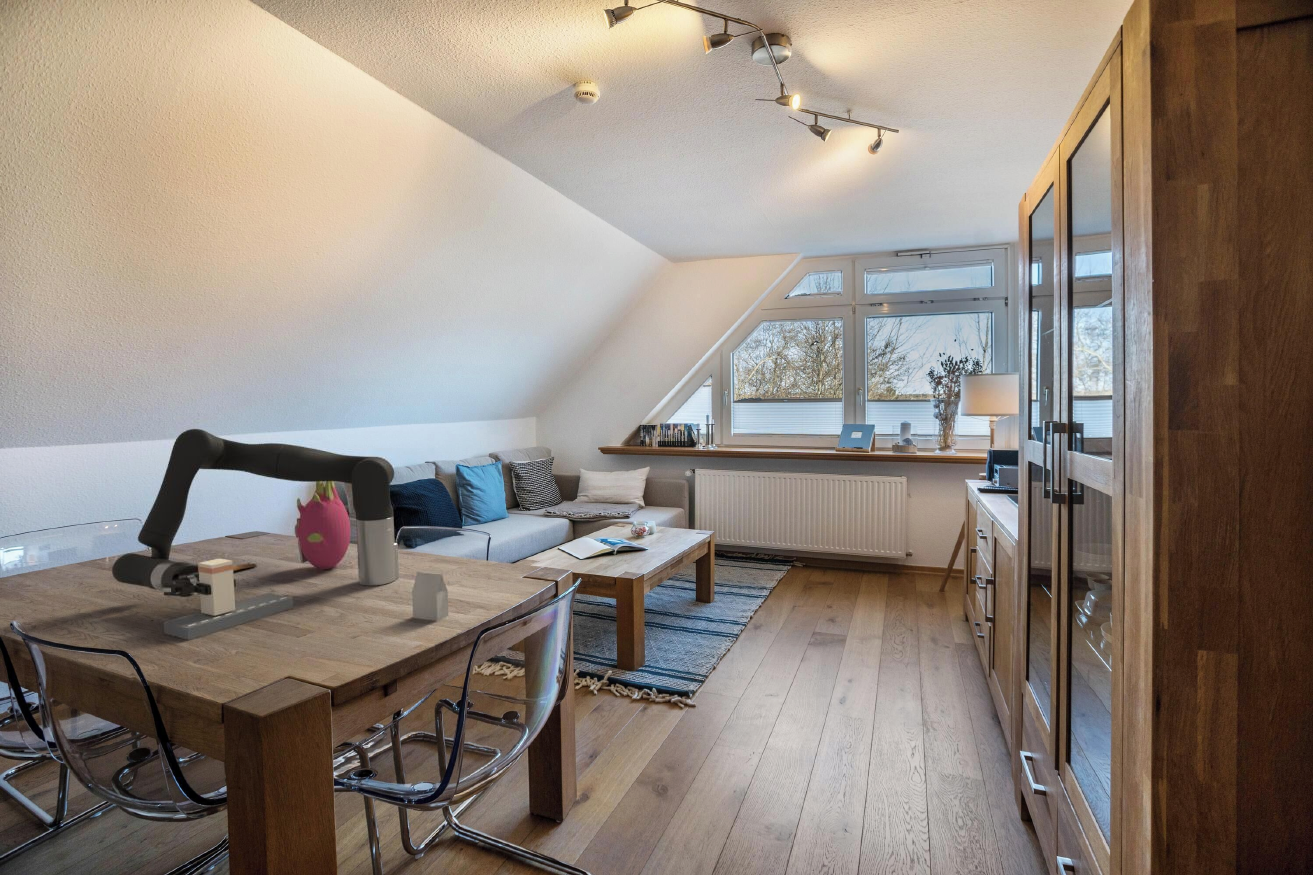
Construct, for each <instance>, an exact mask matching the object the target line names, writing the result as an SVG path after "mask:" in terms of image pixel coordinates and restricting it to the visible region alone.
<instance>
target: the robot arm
mask: <svg viewBox="0 0 1313 875" xmlns="http://www.w3.org/2000/svg"><path fill="white" fill-rule="evenodd" d="M199 470H221V471H222V470H223V471H237V472H238V471H239V472H244V473H249V474H253V475H257V476H260V477H261V476H262V477H264V478H271V479H278V480H284V481H291V482H301V483H302V482H304V483H305V482H306V483H307V482H308V483H311V482H312V483H316V482H323V481H324V482H326V481H334V482H339V483H345V484H351V493H352V495H351V496H352V506H353V510H354V512H355V526H356V548H357V571H358V574H357V575H358V584H359V585H361V586H379V585H381V586H382V585H385V584H389V583H393V582H394V581H396V580H397V579H400V572H399V570H400V569H399V546H398V543H397V542H395V526H394V525H395V524H394V507H393V506H392V502H391V493H390V492H391V491H390V490H391V488H390V484H391V483H392V482H393V480H394V477H395V469H394V467H393V465H392V464H391V463H390V462H389V461H388V460H387V459H386V458H383V457H379V456H359V455H347V454H346V455H345V454H339V453H334V452H332V451H326V450H322V449H317V448H312V447H306V446H301V445H295V444H294V445H293V444H287V443H278V442H277V443H276V442H275V443H274V442H269V443H268V442H267V443H244V442H238V441H234V440H229V439H225V438H221V437H219V436H216V435H214V434H211V433H209V432H208V431H206V430H203V429H199V428H190V429H187V430H185V431H182V432H181V433H180V434H179V435H178V436H177V438H176V439H175V440H174V443H173V446H172V449H171V454H170V457H169V460H168V464H167V467H166V470H165V473H164V477H163V479H162V481H161V482H162V483H161V485H160V488H159V490H158V494H157V495H156V498H155V500H154V502H153V504H152V506H151V509H150V511H149V513H148V515H147V517H146V519H145V521H144V524H143V525H142V527H141V529H140V531H139V534H138V535H137V536H138V537H137V541H138V543H140V544H142V545H144V546H147V547H149V548H150V550H151V555H150V556H147V555H143V554H139V553H138V554H137V553H134V552H131V553H130V552H129V553H125V554H124V555H121V556H120V557H119V558H117V559H116V560H115V562H113V565H112V567H111V573H112V577H113V578H114V579H115V581H116V582H119V583H122V584H125V585H126V584H127V585H133V586H139V587H146V588H149V589H152V590H156V591H159V592H162V593H163V596H170V597H181V598H188V597H191V596H194V595H196V596H197V595H200V594H203V595H211V585H209V584H205V583H199V572H198V564H197V563H192V562H187V561H186V562H185V561H182V560H170V555H171V549H172V545H173V541H174V540H175V537H176V535H177V533H178V531H179V529H180V526H181V524H182V522H183V520H184V518H185V514H186V511H187V510H186V508H187V503H188V498H189V492H190V489H191V486H192V483H193V480H195V477H196V475H197V473H198V472H199ZM236 586H237V583H236V579H235V578H234V589H235V588H236Z"/></svg>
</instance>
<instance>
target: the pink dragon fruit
mask: <svg viewBox="0 0 1313 875" xmlns="http://www.w3.org/2000/svg"><path fill="white" fill-rule="evenodd" d="M334 482H335V481H323V482H315V491H314V492H313V496H312V497H311V499H310V500H309V501H307V503H306V504H305V505H303V504H302V501H301V499H300V498H297V499H296V508H297V510H298V512H299V518H298V517H296V523H295V525H294V535H295V538H298V539H297V546H298V552H299V558H300V564H304V563H306V562H308V563H309V564H310V565H311V566H313V567H314V568H316V569H320V570H328V569H332V568H334V567H336V566H338V564H339V563H340V562H341V561H342V560H343V559H344V557H345V555H346V554H347V551H348V548H349V546H350V542H351V532H352V531H351V522H350V518H349V514H348V512H347V509H346V507H345V505H344V503H343V502H342V500H341V499H340V497H339V494H338V492H337V490H336V486H335V483H334Z"/></svg>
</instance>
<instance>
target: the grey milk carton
mask: <svg viewBox="0 0 1313 875" xmlns="http://www.w3.org/2000/svg"><path fill="white" fill-rule="evenodd" d="M412 587H413V588H412V591H411V596H412V598H411V602H412V618H413V619H418V620H419V619H421V620H427V621H428V620H429V621H435V622H438V621H441V620H443V619H445V618H447V617H449V599H448V598H449V597H448V596H449V594H448V593H449V592H448V588H447V586H446V582H445V581H444V577H443V573H436V572H427V571H416V576H415V580H414V584H413V586H412ZM442 618H443V619H442Z"/></svg>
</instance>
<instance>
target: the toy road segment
mask: <svg viewBox="0 0 1313 875" xmlns="http://www.w3.org/2000/svg"><path fill="white" fill-rule="evenodd" d="M291 609H294V599H293V597H291V596H286V595H281V594H276V593H271V592H267V593H264V594H263V593H262V594H260V595H256V596H253V597H250V598H246V599H242V600H239V601H235V610H233V611H230V612H226V613H223V614H219V615H216V616H214V615H209V614H205V613H201V611H198V612H196V613H191V614H188V615H185V616H181V617H177V618H174V619H169V620H167V621H164V622H163V629H164V630H163V632H164V635H168V636H171V635H172V636H171V637H175V636H177V637H176V638H178V637H180V638H179V639H182V638H183V639H182V640H186V639H188V640H187V641H190V640H189V639H191V640H194V639H198V638H200V637H204V636H207V635H210V634H215V633H217V632H220V631H223V630H226V629H230V628H233V627H237V626H239V625H242V624H243V625H244V624H246V623H248V622H249V623H250V622H253V621H256V620H259V619H262V618H265V617H269V616H271V615H272V616H273V615H275V614H279V613H282V612H285V611H288V610H291Z"/></svg>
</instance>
